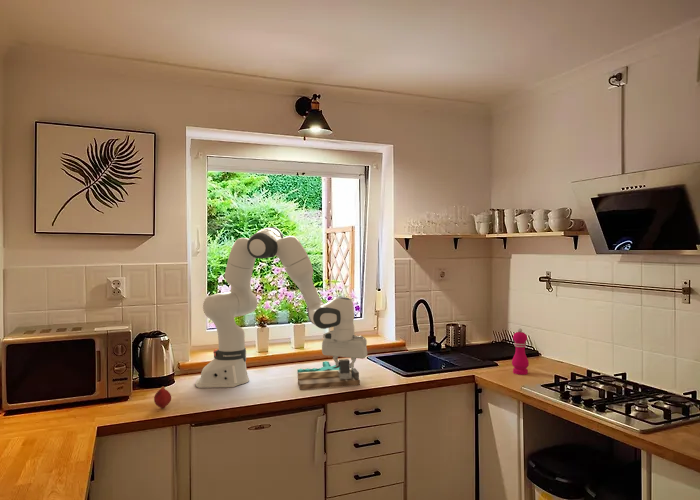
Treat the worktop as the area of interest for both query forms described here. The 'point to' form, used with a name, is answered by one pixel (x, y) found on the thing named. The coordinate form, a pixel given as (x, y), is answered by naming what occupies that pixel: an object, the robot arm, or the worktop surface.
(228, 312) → the robot arm
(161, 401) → the onion
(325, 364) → the alien figure
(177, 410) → the worktop surface
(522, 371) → the pepper mill
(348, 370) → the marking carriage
